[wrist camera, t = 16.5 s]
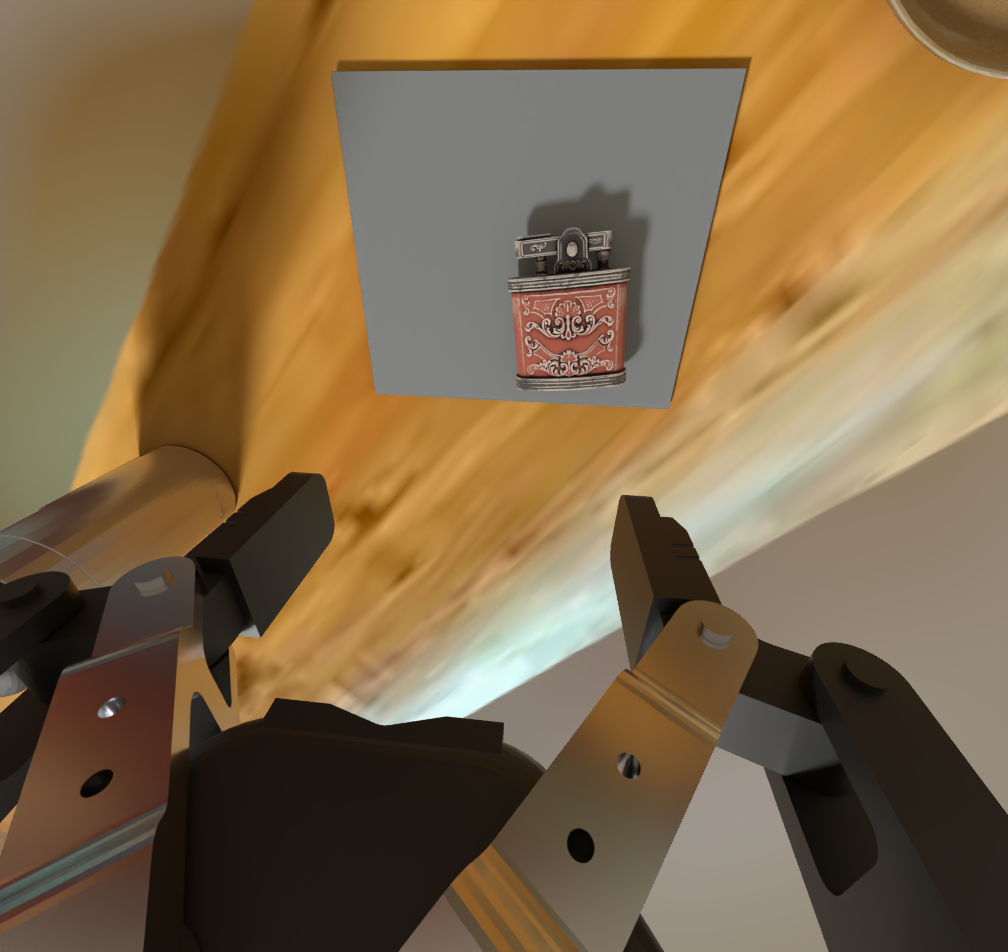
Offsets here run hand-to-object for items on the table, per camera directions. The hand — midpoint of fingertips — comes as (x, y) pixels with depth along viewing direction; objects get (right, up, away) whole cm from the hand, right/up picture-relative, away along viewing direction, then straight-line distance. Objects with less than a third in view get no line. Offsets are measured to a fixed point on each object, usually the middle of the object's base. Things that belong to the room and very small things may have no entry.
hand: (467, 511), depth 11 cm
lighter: (+6, +8, +20) cm, 22 cm away
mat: (+2, +16, +18) cm, 24 cm away
